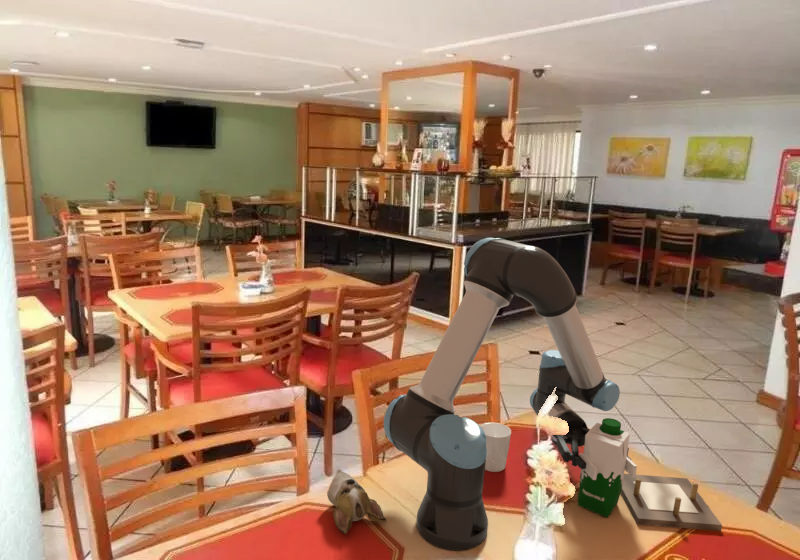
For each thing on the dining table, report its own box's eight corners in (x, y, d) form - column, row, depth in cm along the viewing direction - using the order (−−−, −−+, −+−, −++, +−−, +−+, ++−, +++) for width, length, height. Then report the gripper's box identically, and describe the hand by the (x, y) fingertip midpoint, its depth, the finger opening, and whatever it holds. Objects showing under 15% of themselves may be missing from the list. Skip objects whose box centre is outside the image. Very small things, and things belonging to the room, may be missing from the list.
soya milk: (622, 503, 134) (634, 424, 129) (610, 522, 126) (622, 440, 122) (585, 488, 139) (596, 412, 134) (571, 506, 132) (582, 426, 127)
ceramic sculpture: (360, 457, 132) (390, 496, 119) (358, 489, 134) (388, 531, 122) (316, 468, 127) (343, 510, 114) (315, 501, 129) (341, 546, 117)
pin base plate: (637, 524, 126) (640, 502, 125) (612, 478, 144) (615, 458, 143) (721, 530, 126) (725, 508, 124) (686, 483, 143) (689, 464, 142)
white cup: (471, 466, 146) (474, 430, 144) (485, 453, 153) (488, 419, 150) (499, 477, 142) (502, 440, 140) (512, 463, 148) (516, 428, 146)
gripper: (602, 435, 150) (656, 484, 129) (525, 439, 146) (567, 491, 124) (606, 408, 149) (661, 454, 127) (528, 412, 144) (572, 460, 123)
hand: (615, 472), depth 126 cm, fingers closed on soya milk, 9 cm apart
